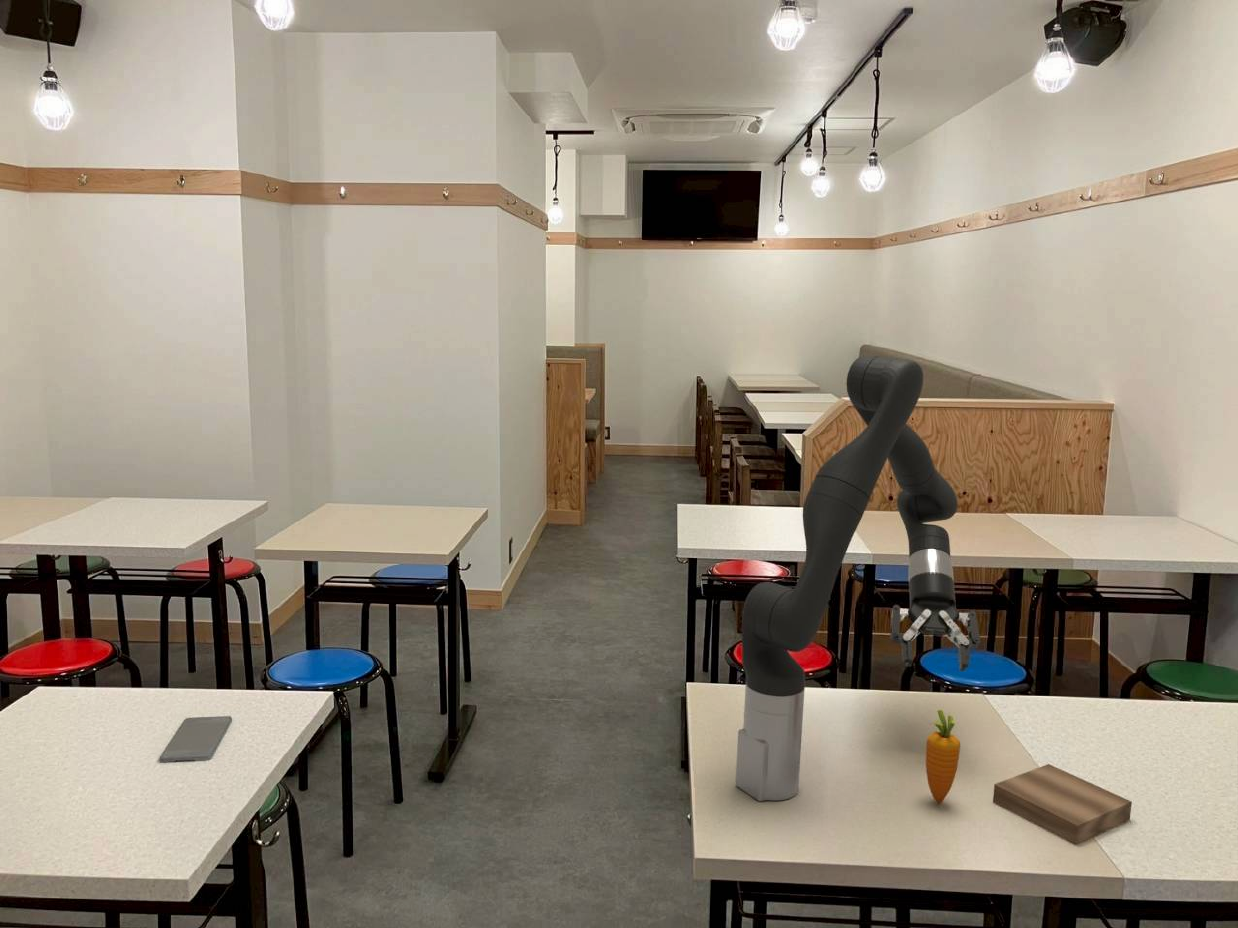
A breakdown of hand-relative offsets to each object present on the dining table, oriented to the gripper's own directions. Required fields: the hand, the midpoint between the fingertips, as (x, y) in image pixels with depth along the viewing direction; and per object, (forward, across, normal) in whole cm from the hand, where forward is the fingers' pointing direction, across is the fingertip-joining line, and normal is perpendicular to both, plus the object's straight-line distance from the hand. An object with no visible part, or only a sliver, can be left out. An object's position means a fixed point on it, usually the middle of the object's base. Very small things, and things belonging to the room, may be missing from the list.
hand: (936, 666), depth 157 cm
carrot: (+21, 0, +4) cm, 22 cm away
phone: (+26, -124, 0) cm, 126 cm away
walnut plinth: (+20, +18, +6) cm, 28 cm away
